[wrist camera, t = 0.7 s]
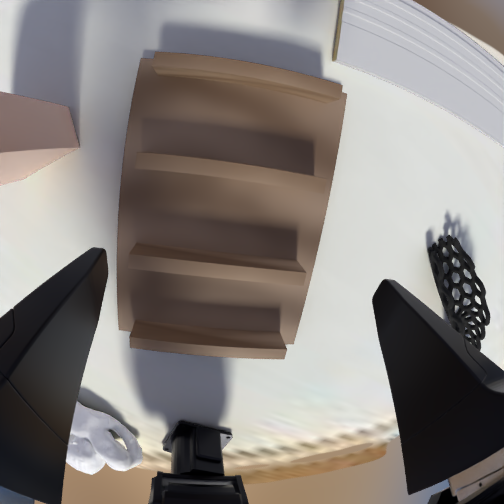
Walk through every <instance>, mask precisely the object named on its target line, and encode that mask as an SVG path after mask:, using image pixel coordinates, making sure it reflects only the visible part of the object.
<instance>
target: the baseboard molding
mask: <svg viewBox="0 0 504 504" xmlns="http://www.w3.org/2000/svg"><path fill="white" fill-rule="evenodd" d="M333 62H336V63H339V64H342V65H345V66H348V67H351V68H353V69H356V70H359V71H361V72H364V73H367V74H369V75H372V76H374V77H377V78H379V79H381V80H384V81H386V82H388V83H391V84H393V85H395V86H397V87H400V88H402V89H404V90H406V91H408V92H410V93H412V94H414V95H416V96H418V97H420V98H422V99H424V100H426V101H428V102H430V103H432V104H434V105H436V106H438V107H440V108H441V109H443V110H445V111H447V112H449V113H450V114H452V115H454V116H455V117H457V118H459V119H460V120H462V121H464V122H465V123H467V124H469V125H470V126H472V127H473V128H475V129H477V130H478V131H480V132H481V133H483V134H484V135H486V136H487V137H489V138H490V139H492V140H493V141H494V142H496V143H497V144H499V145H500V146H502V147H503V148H504V66H502V65H501V64H500V63H499V62H498V61H497V60H496V59H495V58H493V57H492V56H491V55H490V54H489V53H488V52H486V51H485V50H484V49H483V48H482V47H480V46H479V45H478V44H477V43H475V42H474V41H473V40H471V39H470V38H469V37H467V36H466V35H465V34H463V33H462V32H461V31H459V30H458V29H457V28H455V27H454V26H452V25H451V24H449V23H448V22H447V21H445V20H444V19H442V18H441V17H439V16H437V15H436V14H434V13H433V12H431V11H430V10H428V9H426V8H425V7H423V6H421V5H419V4H418V3H416V2H414V1H413V0H341V3H340V11H339V18H338V26H337V33H336V40H335V47H334V54H333Z"/></svg>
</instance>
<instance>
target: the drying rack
mask: <svg viewBox="0 0 504 504" xmlns="http://www.w3.org/2000/svg"><path fill="white" fill-rule="evenodd" d="M342 86H343V85H340V84H337V83H334V82H330V81H327V80H323V79H320V78H316V77H313V76H309V75H305V74H302V73H298V72H294V71H289V70H285V69H281V68H276V67H272V66H267V65H262V64H257V63H251V62H246V61H240V60H234V59H227V58H220V57H212V56H204V55H195V54H184V53H170V52H155V55H154V59H146V58H141V60H140V65H139V69H138V73H137V78H136V83H135V88H134V93H133V98H132V103H131V109H130V115H129V121H128V127H127V134H126V141H125V149H124V157H123V166H122V175H121V186H120V198H119V214H118V235H117V304H118V325H119V330H123V331H130V332H131V334H130V337H129V338H130V348H137V349H144V350H152V351H161V352H170V353H179V354H190V355H202V356H215V357H231V358H253V359H285V355H286V351H287V348H286V346H285V344H294V340H295V337H296V333H297V330H298V326H299V322H300V319H301V315H302V311H303V307H304V304H305V300H306V296H307V292H308V288H309V284H310V280H311V276H312V272H313V268H314V264H315V259H316V255H317V251H318V246H319V242H320V238H321V233H322V229H323V224H324V219H325V215H326V210H327V205H328V200H329V196H330V191H331V185H332V180H333V175H334V170H335V164H336V159H337V153H338V148H339V142H340V136H341V130H342V124H343V118H344V111H345V105H346V98H347V94H346V93H343V92H342Z"/></svg>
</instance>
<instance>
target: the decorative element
mask: <svg viewBox="0 0 504 504" xmlns="http://www.w3.org/2000/svg"><path fill="white" fill-rule="evenodd" d="M446 238H447V242H445V241H444V240H443V238H440V239H439V240H438V241H439V245H438V247H437V245H436V243H435V244H433V245H432V247H430V248H428V252H429V257H430V262H431V267H432V272H433V276H434V279H435V283H436V286H437V289H438V293H439V295H440V298H441V301H442V304H443V306H444V308H445V311H446V313H447V316H448V318H449V321H450V323H451V327H452V328H453V329H455V330H456V331H457V332H458V333H459V334H460V335H462V336H463V338H465V339H466V340H467V341H468V342H471V344H472V345H473V346H474V347H475V348H477V349H478V350H479V351H480V350H481V343H480V340H483V339H484V338H485V325H486V326H487V325H488V324H489V323H490V312H489V309H488V307H487V304H486V299H485V295H486V290H485V288H484V285H483V283H482V281H481V280H480V279H479V278H478V277H477V275H476V273H475V270H474V269H475V265H474V263H473V261H472V259H471V258H470V257H469V255H468V254H467V253H466V252H465V251H464V250H463V249H462V247H461V245H460V243H459V241H458V239H457V238H454V239H453V238H452V237H451V236H450V235H448V236H447V237H446ZM451 245H453V246H454V247H455V248H456V249H457V251H458V252H459V253H457V252H455V251H454V250H453V248H452V246H451ZM443 247H445V248H447V250H448V252H449V255H448V257H444V256H443V252H442V250H443ZM436 253H438V256H437V254H436ZM453 257H454V258H456V259H458V261H459V263H460V267H459V268H457V267H454V266H453V263H452V259H453ZM463 258H464V259H465V260H466V261H467V262H466V261H465V260H464V259H463ZM444 262H445V263H447V265H448V267H449V270H448V273H447V274H446V273H444V268H443V263H444ZM464 269H466V270H467V271H469V272H470V274H471V277H472V279H469V278H467V277H465V275H464V272H463V270H464ZM453 272H455V273H458V274H459V276H460V278H461V279H460V281H459V283H454V282H453V280H452V277H451V276H452V274H453ZM444 279H447V281H448V284H449V287H448V289H447V288H446V287H445V285H444ZM464 282H465V283H467V284H469V285H470V286H471V289H472V293H471V294H468V293H466V292H465V291H464V289H463V287H462V286H463V284H464ZM475 283H476V284H477V285H478V286H479V288H480V290H481V291H479V290H478V289H477V287H476V285H475ZM453 288H456V289H458V290H459V292H460V298H459V300H454V297H453V295H452V290H453ZM476 295H477V296H478V297H479V298H480V300H481V305H480V304H478V303H477V302H476V301H475V296H476ZM464 298H467V299H470V301H471V303H470V304H469V305H466V306H463V301H464ZM447 299H448V300H447ZM455 305H457V306H459V310H458V311H457V313H455V312H454V311H455ZM473 307H475V308H476V309H477V310H478V311H477V312H474V311H472V310H471V309H472V308H473ZM483 310H484V312H485V315H486V319H485V317H484V315H483ZM463 311H465V312H464V313H462V312H463ZM468 315H471V316H470V317H467V318H465V317H466V316H468ZM478 316H479V318H480V320H481V322H479V321H478V320H477V319H476V317H478ZM471 321H473V323H474V324H475V325H471V324H469V323H468V322H471ZM465 327H466V328H467V329H466V330H465ZM478 327H479V328H480V329H481V333H480V330H479V328H478ZM472 330H475V332H476V335H475V334H474V333H473V331H472ZM465 334H469V335H470V336H471V338H468V337H467V336H465ZM475 340H476V342H475ZM476 344H477V345H476Z"/></svg>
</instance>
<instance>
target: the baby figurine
mask: <svg viewBox="0 0 504 504" xmlns="http://www.w3.org/2000/svg"><path fill="white" fill-rule="evenodd" d="M109 429H111V430H113V431H114V432H115V433H116V434H117V435H118V436H119V437H121V438H122V439H123V441H124V443H125V445H126V447H127V450H126V449H125V447H124V446H123V445H122V444H121V443H120V442H119V441H117V440H115V439H114V438H113V436H112V434H111V433H110V432H108V430H109ZM67 446H68V451H67V457H66V462H67V463H68V464H69V465H71V466H72V467H74V468H76V470H80V471H82V472H85V473H89V474H94V473H96V472H98V471H99V470H100V469H101V468H102V467H103V466H104V465H105V462H106V463H107V464H108V465H109V466H110V467H111V468H112V469H115V470H121V471H126V470H128V469H130V468H133V467H135V466H137V465H138V464H140V463H141V462H142V460H143V456H142V448H141V447H140V445H139V444H138V441H137V439H136V437H135V436H134V435H133V434H132V433H131V432H130V431H129V430H128V429H127V428H126V427H125V426H123V425H122V424H121V423H120V422H119V421H118V420H116V419H114V418H113V417H112V416H110V415H108V414H106V413H104V412H100V411H96V410H92V409H90V408H87V407H84V406H83V405H81V403H79V402H78V401H77V403H76V407H75V412H74V417H73V422H72V427H71V432H70V438H69V444H68V445H67Z"/></svg>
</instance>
